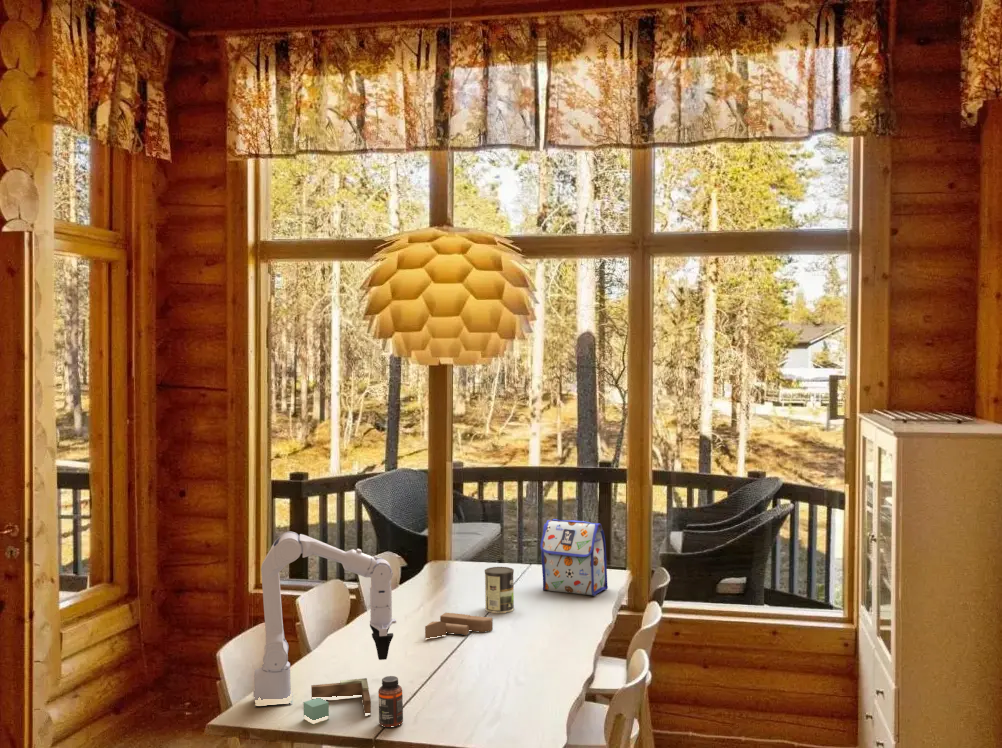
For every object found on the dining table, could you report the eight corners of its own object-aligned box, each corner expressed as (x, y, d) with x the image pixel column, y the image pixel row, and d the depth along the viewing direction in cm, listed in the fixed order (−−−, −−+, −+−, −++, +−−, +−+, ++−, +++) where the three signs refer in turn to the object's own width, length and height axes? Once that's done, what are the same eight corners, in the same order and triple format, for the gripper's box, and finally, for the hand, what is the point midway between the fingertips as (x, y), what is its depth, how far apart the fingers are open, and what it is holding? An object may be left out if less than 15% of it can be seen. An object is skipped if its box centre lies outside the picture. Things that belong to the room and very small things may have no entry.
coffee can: (514, 605, 326) (513, 566, 325) (513, 613, 316) (513, 573, 315) (485, 605, 326) (485, 566, 326) (484, 613, 316) (484, 573, 315)
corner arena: (312, 721, 226) (311, 703, 225) (311, 700, 239) (311, 683, 239) (370, 715, 229) (370, 697, 229) (366, 695, 242) (366, 678, 242)
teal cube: (313, 725, 224) (312, 707, 224) (303, 719, 227) (303, 702, 227) (328, 720, 227) (328, 702, 227) (319, 714, 230) (319, 697, 230)
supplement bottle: (404, 718, 227) (403, 673, 227) (402, 728, 221) (401, 682, 221) (380, 719, 227) (379, 674, 226) (377, 729, 221) (377, 683, 220)
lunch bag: (537, 592, 343) (536, 522, 342) (555, 582, 357) (554, 514, 357) (593, 599, 332) (592, 527, 331) (609, 588, 347) (609, 519, 346)
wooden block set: (442, 609, 304) (493, 613, 298) (442, 625, 304) (493, 630, 298) (421, 623, 288) (474, 628, 282) (422, 640, 288) (474, 646, 282)
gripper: (398, 611, 238) (398, 662, 238) (393, 596, 252) (394, 644, 253) (371, 613, 237) (371, 664, 237) (368, 598, 251) (368, 646, 251)
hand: (381, 654), depth 245 cm, fingers open, 7 cm apart
